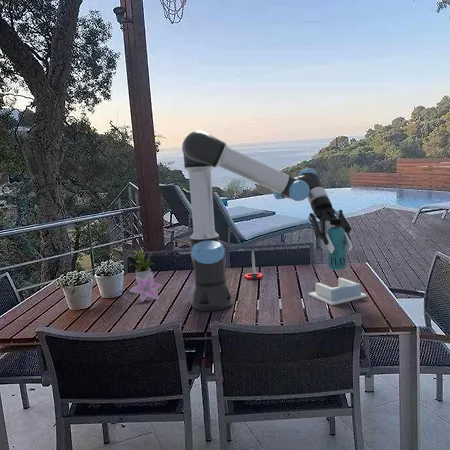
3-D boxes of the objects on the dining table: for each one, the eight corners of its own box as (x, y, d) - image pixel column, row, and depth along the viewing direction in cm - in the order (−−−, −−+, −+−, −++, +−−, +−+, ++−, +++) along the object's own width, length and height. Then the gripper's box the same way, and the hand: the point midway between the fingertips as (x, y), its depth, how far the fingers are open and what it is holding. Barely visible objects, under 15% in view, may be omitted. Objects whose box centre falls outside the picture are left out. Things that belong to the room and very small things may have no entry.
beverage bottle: (328, 274, 159) (326, 220, 156) (328, 269, 165) (326, 217, 162) (347, 273, 157) (345, 219, 154) (346, 268, 164) (344, 216, 161)
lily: (126, 304, 175) (128, 287, 169) (135, 285, 184) (137, 268, 179) (155, 311, 175) (158, 294, 169) (162, 292, 184) (165, 275, 179)
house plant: (120, 283, 202) (117, 249, 199) (146, 276, 211) (143, 244, 208) (136, 289, 191) (132, 253, 188) (162, 281, 200) (159, 247, 197)
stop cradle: (331, 305, 153) (331, 292, 152) (308, 295, 166) (308, 283, 165) (367, 296, 159) (366, 284, 159) (342, 287, 172) (342, 275, 171)
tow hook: (243, 275, 201) (245, 280, 192) (242, 248, 200) (243, 251, 191) (261, 274, 201) (264, 279, 192) (260, 247, 200) (262, 250, 191)
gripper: (338, 205, 175) (362, 252, 162) (293, 210, 171) (313, 258, 157) (345, 192, 169) (369, 240, 156) (298, 197, 165) (319, 247, 151)
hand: (341, 249), depth 157 cm, fingers closed on beverage bottle, 6 cm apart
